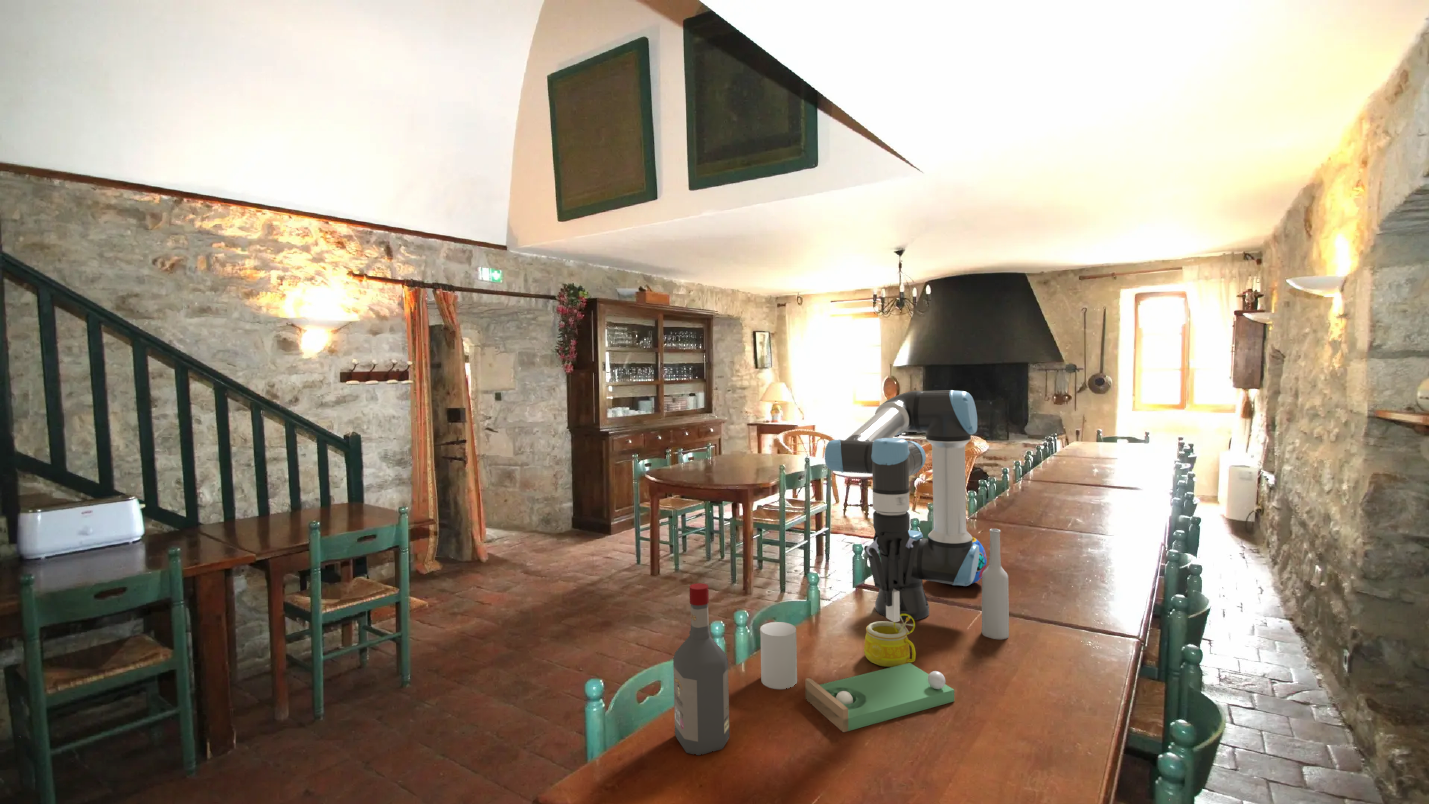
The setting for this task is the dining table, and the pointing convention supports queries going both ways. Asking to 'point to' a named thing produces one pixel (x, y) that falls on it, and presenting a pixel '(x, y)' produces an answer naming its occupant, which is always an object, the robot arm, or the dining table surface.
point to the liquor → (701, 683)
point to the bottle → (995, 593)
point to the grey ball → (936, 680)
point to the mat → (877, 696)
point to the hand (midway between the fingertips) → (892, 619)
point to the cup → (778, 655)
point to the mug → (889, 643)
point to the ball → (844, 697)
